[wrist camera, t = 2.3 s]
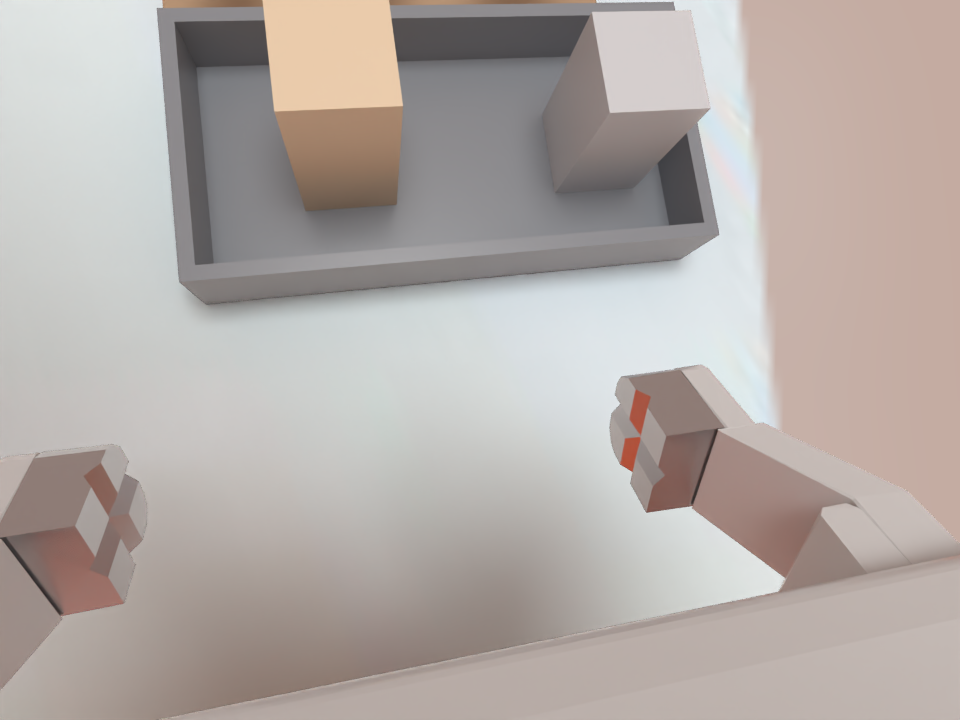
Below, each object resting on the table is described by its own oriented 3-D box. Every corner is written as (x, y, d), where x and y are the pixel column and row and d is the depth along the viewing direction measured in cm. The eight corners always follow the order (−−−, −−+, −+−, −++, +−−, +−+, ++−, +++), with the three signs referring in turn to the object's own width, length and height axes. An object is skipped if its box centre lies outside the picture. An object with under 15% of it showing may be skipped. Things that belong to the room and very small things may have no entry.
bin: (205, 304, 26) (179, 281, 22) (185, 63, 27) (156, 7, 24) (680, 259, 30) (719, 234, 26) (641, 51, 31) (673, 2, 28)
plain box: (555, 193, 29) (609, 113, 22) (542, 114, 29) (591, 12, 22) (633, 187, 29) (710, 108, 22) (619, 111, 30) (690, 10, 23)
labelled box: (305, 211, 26) (274, 111, 19) (296, 123, 27) (261, -10, 19) (396, 204, 27) (403, 106, 19) (385, 119, 28) (387, -11, 20)
